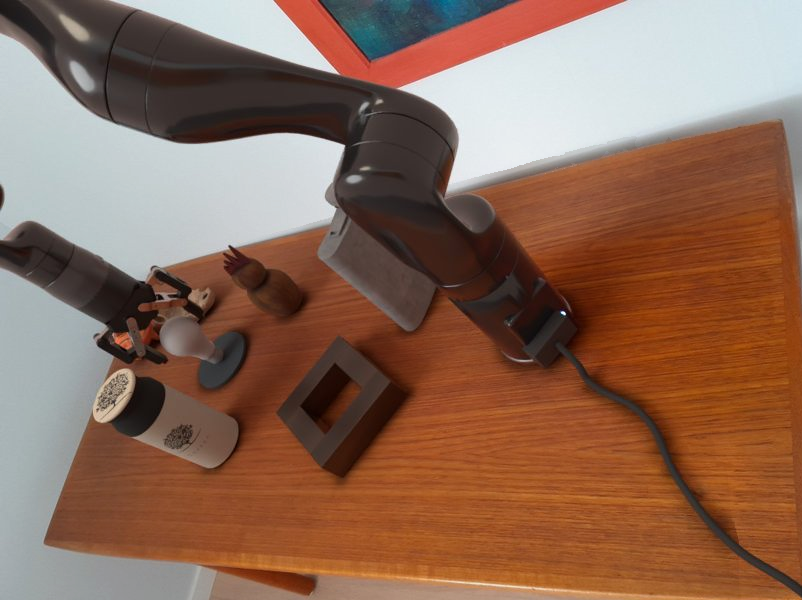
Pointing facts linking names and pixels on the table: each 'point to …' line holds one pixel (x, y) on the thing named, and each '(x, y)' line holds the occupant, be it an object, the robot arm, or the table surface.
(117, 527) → the table surface
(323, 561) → the table surface
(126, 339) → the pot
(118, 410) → the travel mug
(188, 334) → the lightbulb
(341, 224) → the hip flask
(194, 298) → the oil lamp
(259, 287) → the wooden figurine
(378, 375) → the bulb stand
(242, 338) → the coaster
